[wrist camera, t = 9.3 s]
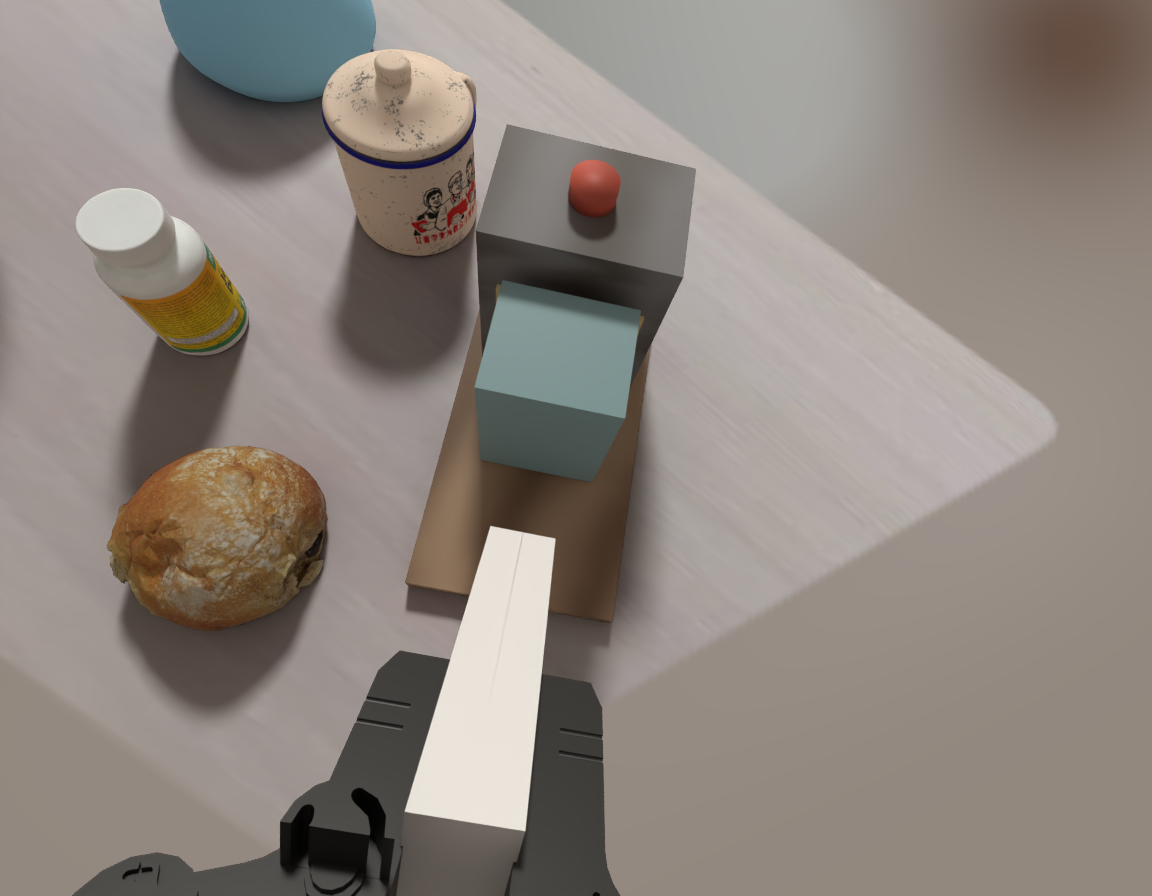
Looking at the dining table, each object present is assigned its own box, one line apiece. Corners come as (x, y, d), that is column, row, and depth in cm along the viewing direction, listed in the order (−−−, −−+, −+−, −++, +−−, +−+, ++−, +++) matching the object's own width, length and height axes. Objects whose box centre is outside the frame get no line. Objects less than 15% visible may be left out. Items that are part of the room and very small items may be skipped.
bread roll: (292, 639, 35) (315, 641, 29) (83, 618, 30) (54, 615, 24) (332, 484, 39) (359, 455, 32) (150, 444, 34) (140, 400, 27)
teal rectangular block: (480, 460, 35) (474, 387, 26) (501, 375, 38) (502, 280, 28) (591, 482, 36) (625, 418, 26) (605, 397, 38) (641, 310, 29)
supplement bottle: (143, 326, 37) (31, 219, 28) (210, 274, 39) (125, 159, 30) (204, 374, 36) (110, 281, 28) (270, 319, 38) (201, 215, 29)
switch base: (408, 585, 34) (349, 532, 20) (490, 280, 42) (487, 98, 28) (608, 622, 34) (680, 595, 21) (651, 315, 42) (722, 154, 29)
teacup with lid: (433, 282, 41) (410, 145, 30) (327, 221, 42) (268, 65, 31) (522, 178, 45) (530, 26, 34) (426, 124, 46) (404, -42, 35)
